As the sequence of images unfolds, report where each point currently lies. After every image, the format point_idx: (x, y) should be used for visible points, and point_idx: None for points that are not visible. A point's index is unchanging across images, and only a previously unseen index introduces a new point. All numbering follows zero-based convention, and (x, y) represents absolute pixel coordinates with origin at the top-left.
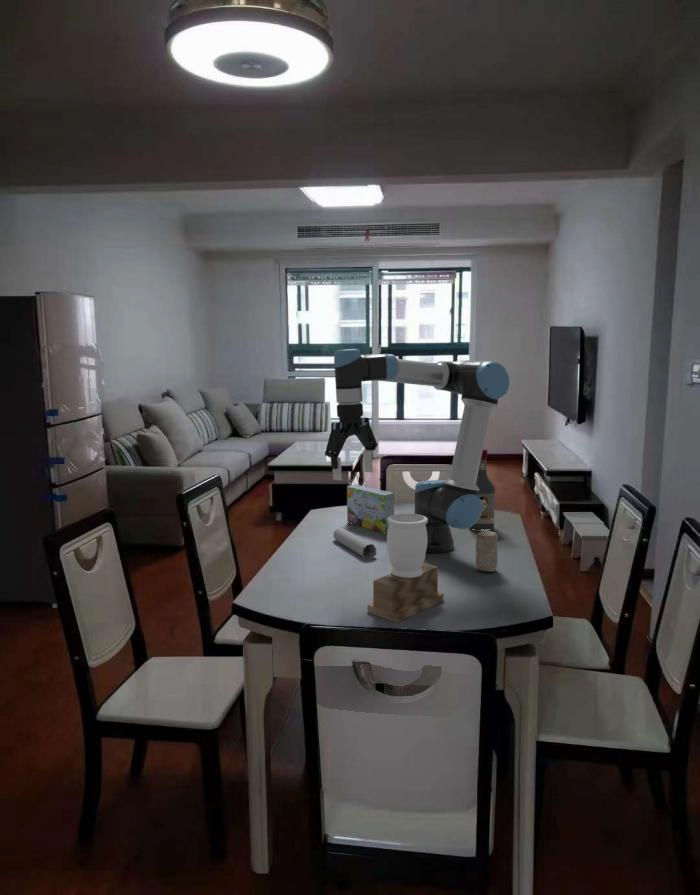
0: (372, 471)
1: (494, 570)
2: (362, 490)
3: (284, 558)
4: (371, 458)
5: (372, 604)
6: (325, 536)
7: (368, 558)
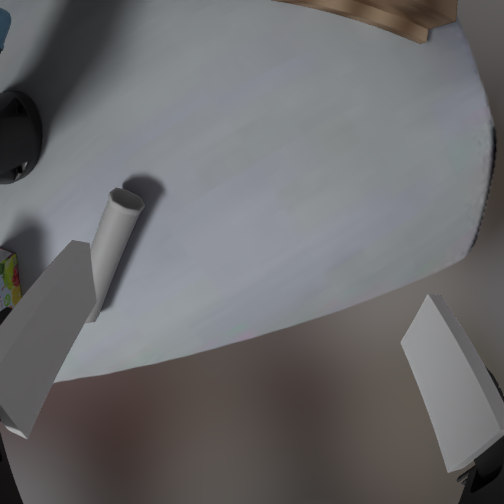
0: (72, 243)
1: None
2: None
3: (240, 331)
4: (17, 315)
5: (420, 33)
6: (95, 333)
7: (135, 195)
